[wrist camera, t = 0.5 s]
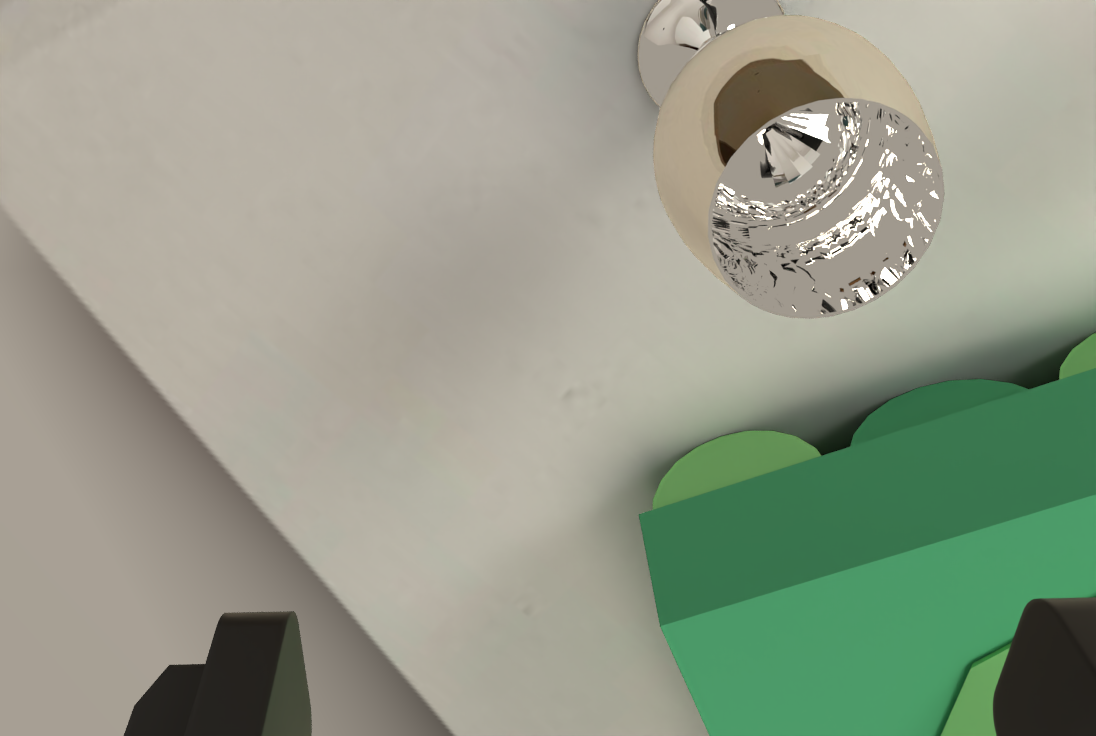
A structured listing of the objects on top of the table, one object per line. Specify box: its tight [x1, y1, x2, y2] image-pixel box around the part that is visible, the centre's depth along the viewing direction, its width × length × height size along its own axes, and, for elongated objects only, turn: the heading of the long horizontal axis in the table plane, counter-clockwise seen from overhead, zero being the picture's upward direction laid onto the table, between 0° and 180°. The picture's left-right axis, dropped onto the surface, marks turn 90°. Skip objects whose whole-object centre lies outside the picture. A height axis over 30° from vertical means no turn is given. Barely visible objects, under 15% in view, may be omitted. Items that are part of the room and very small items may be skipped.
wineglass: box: [637, 0, 944, 318], centre depth 25 cm, size 6×6×12 cm
